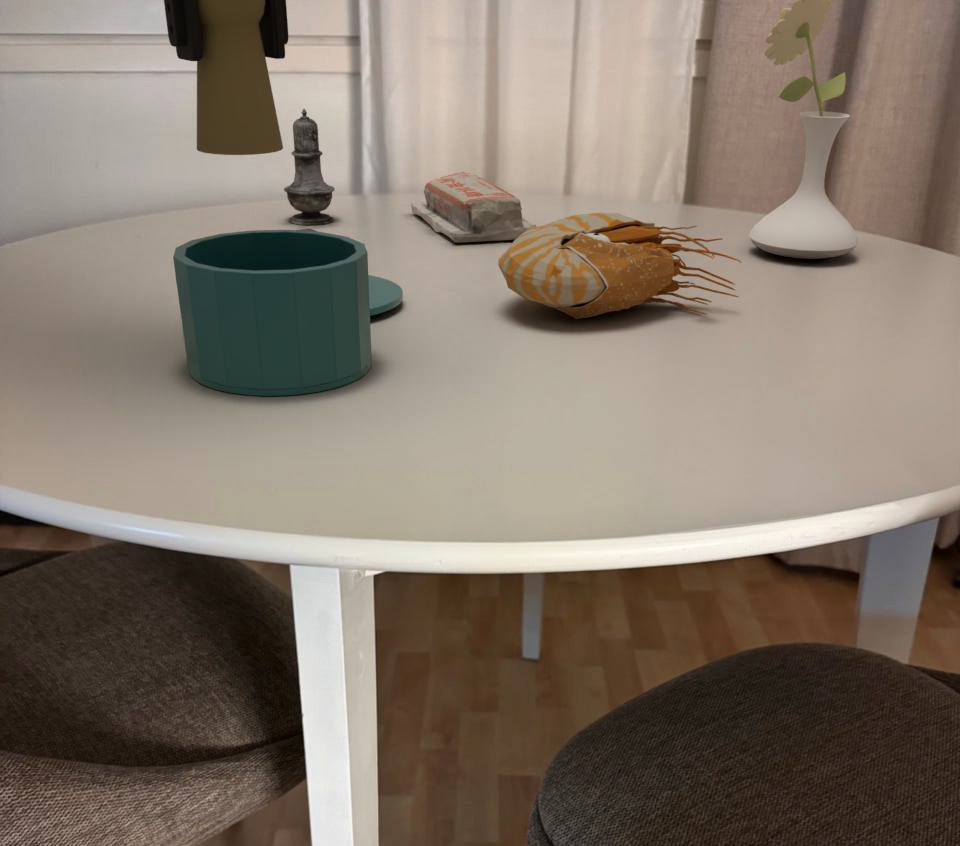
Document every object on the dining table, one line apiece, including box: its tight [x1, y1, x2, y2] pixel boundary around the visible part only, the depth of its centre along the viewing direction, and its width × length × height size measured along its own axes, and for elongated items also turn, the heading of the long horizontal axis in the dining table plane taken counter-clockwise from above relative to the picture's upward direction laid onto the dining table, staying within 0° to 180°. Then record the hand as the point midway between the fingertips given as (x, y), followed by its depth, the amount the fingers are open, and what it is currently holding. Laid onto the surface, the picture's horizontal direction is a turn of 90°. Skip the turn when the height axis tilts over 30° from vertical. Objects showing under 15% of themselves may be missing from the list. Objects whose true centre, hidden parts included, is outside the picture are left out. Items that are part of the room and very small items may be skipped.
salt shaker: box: [283, 108, 335, 226], centre depth 123 cm, size 6×6×12 cm
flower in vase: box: [748, 0, 859, 260], centre depth 108 cm, size 13×11×25 cm
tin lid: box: [299, 228, 404, 317], centre depth 94 cm, size 15×15×6 cm
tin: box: [172, 229, 373, 397], centre depth 79 cm, size 14×14×8 cm
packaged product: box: [410, 171, 537, 244], centre depth 124 cm, size 18×5×10 cm
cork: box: [196, 0, 284, 156], centre depth 73 cm, size 6×6×11 cm
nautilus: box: [497, 212, 743, 320], centre depth 93 cm, size 8×22×15 cm
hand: (231, 55), depth 72 cm, fingers closed on cork, 5 cm apart
